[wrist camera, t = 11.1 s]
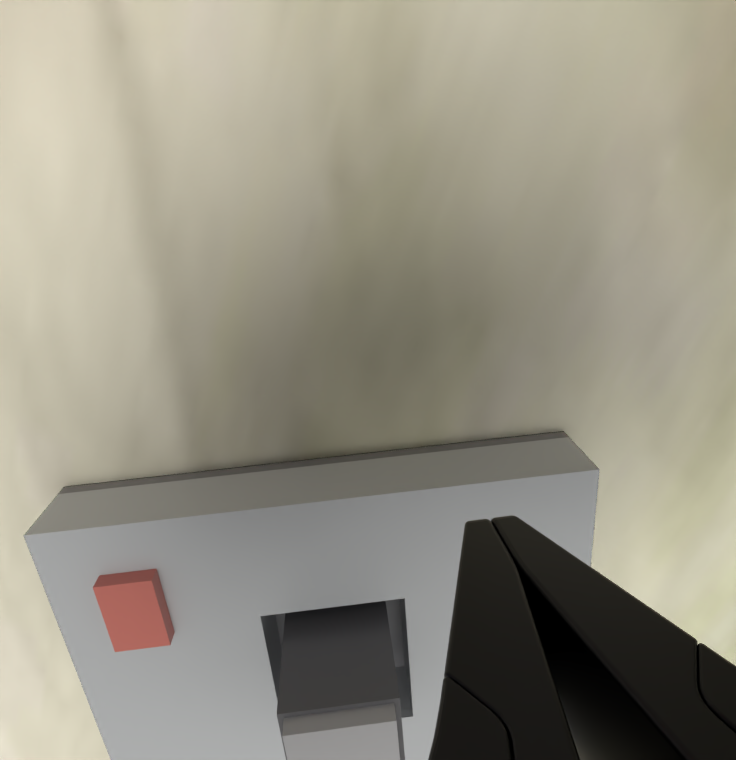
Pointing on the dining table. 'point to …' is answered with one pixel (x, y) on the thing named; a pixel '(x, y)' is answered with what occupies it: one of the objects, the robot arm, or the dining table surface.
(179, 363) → the dining table surface
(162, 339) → the dining table surface
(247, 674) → the socket plate
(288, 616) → the plug
